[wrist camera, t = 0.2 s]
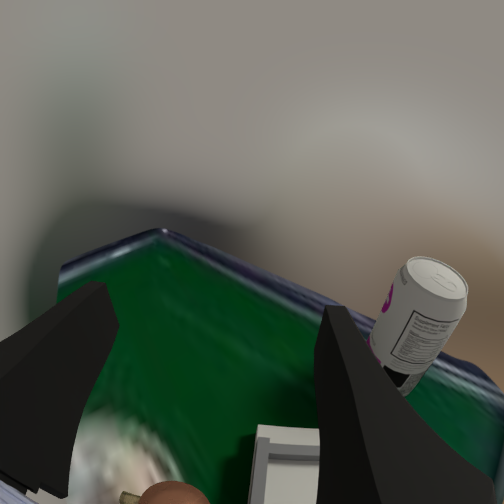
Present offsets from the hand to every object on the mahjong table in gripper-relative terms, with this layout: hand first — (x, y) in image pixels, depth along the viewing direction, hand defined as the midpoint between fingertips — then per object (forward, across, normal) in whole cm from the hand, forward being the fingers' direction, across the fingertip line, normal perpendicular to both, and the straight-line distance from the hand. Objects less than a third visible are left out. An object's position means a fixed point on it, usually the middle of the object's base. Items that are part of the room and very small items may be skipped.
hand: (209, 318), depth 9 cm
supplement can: (+14, -17, +23) cm, 32 cm away
